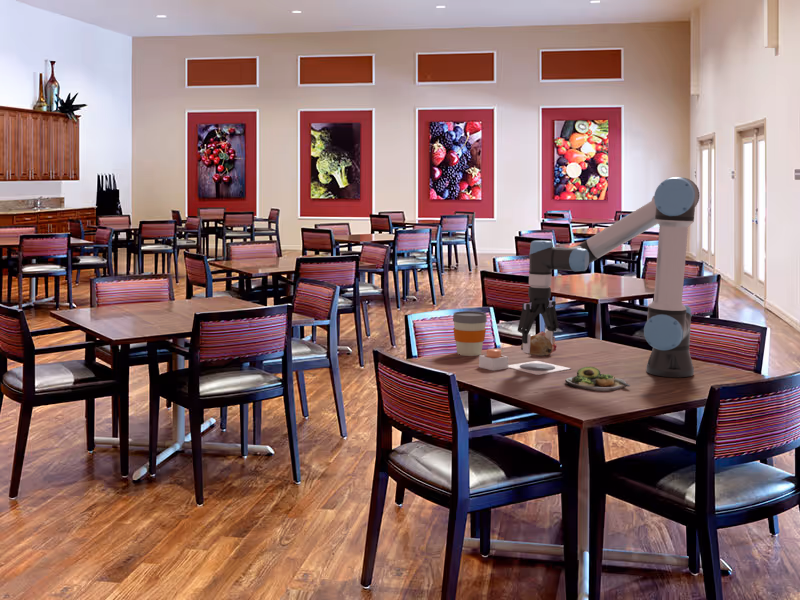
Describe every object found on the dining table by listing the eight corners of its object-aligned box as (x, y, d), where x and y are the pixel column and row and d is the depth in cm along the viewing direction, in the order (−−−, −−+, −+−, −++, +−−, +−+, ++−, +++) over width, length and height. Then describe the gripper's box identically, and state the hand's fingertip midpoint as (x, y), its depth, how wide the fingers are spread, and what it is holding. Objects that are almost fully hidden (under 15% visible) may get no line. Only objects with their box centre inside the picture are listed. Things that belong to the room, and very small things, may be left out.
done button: (494, 357, 298) (494, 348, 297) (504, 359, 294) (504, 350, 293) (483, 358, 295) (483, 350, 294) (493, 361, 291) (493, 352, 290)
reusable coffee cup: (445, 353, 318) (446, 313, 316) (464, 349, 328) (464, 310, 326) (474, 358, 311) (475, 317, 309) (492, 353, 321) (493, 313, 319)
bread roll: (538, 366, 289) (548, 346, 286) (513, 350, 293) (523, 330, 290) (550, 361, 297) (560, 342, 294) (526, 346, 301) (536, 326, 298)
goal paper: (536, 361, 306) (536, 360, 306) (570, 369, 293) (571, 368, 293) (504, 366, 296) (504, 365, 296) (537, 375, 283) (537, 373, 283)
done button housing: (494, 364, 299) (494, 353, 299) (508, 368, 294) (508, 356, 293) (479, 367, 295) (479, 355, 295) (492, 370, 290) (493, 358, 289)
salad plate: (642, 387, 269) (643, 372, 268) (612, 396, 256) (613, 381, 256) (589, 377, 283) (589, 363, 282) (558, 385, 270) (558, 371, 269)
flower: (524, 347, 323) (529, 332, 318) (543, 340, 327) (548, 326, 321) (539, 365, 317) (544, 350, 312) (558, 358, 321) (564, 343, 316)
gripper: (554, 283, 301) (552, 346, 303) (507, 287, 287) (505, 352, 290) (571, 285, 295) (568, 349, 297) (523, 289, 281) (521, 356, 284)
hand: (537, 351), depth 294 cm, fingers closed on bread roll, 10 cm apart
